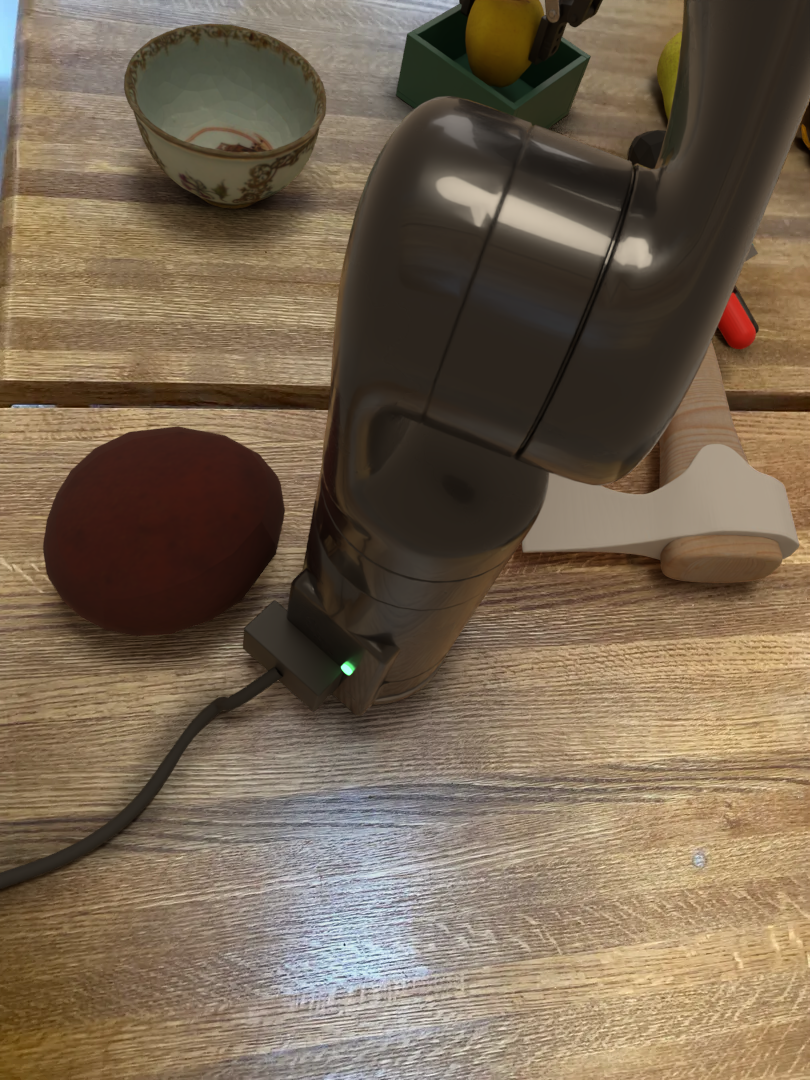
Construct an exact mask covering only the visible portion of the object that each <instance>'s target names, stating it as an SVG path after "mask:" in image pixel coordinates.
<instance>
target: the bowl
mask: <svg viewBox="0 0 810 1080" xmlns="http://www.w3.org/2000/svg"><path fill="white" fill-rule="evenodd" d="M123 90H124V95H125V98H126V101H127V103H128V105H129V107H130V108H131V110H132V111H133V116H134V119H135V122H136V125H137V128H138V130H139V134H140V136H141V138H142V141H143V144H144V145H145V147H146V149H147V151H148V152H149V154H150V155H151V157H152V159H153V160H154V162H155V163H156V164H157V165H158V168H160V169H161V170H162V171H163V173H164V174H166V176H167V177H168V178H170V180H172V181H173V182H175V183H176V185H178V186H180V187H181V188H182V189H184V190H186V191H188V192H189V193H191V194H193V195H195V196H197V197H199V198H200V199H201V200H203V201H205V202H206V203H207V204H209V205H212V206H216V207H218V208H221V209H232V210H235V209H242V208H247V207H250V206H253V205H255V204H256V203H258V202H260V201H261V200H265V199H268V198H269V197H271V196H273V195H275V194H277V193H279V192H281V191H282V190H284V189H285V188H286V187H288V186H289V185H290V184H291V183H292V182H293V181H294V180H295V179H296V178H297V177H298V176H299V175H300V174H301V173H302V171H303V170H304V168H305V166H307V164H308V162H309V160H310V159H311V155H312V153H313V151H314V149H315V146H316V142H317V139H318V135H319V132H320V126H321V125H322V123H323V121H324V119H325V117H326V115H327V114H326V113H327V94H326V89H325V85H324V83H323V81H322V79H321V76H320V74H318V72H317V70H316V69H315V68H314V67H313V65H312V64H311V63H310V62H309V61H308V60H307V59H306V58H305V57H304V56H303V55H302V54H301V53H299V52H298V51H297V50H296V49H294V48H292V47H291V46H290V45H288V44H287V43H285V42H284V41H281V40H279V39H277V38H275V37H274V36H271V35H269V34H267V33H264V32H262V31H258V30H254V29H251V28H248V27H244V26H239V25H234V24H228V23H227V24H225V23H224V24H223V23H200V24H191V25H186V26H185V25H184V26H180V27H176V28H174V29H171V30H168V31H166V32H164V33H161V34H158V35H157V36H155V37H153V38H151V39H150V40H149V41H147V42H146V43H145V44H143V46H141V47H140V48H139V49H138V50H136V52H135V53H134V54H133V55H132V56H131V59H130V60H129V61H128V63H127V67H126V70H125V73H124V80H123Z"/></svg>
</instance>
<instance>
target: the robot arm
mask: <svg viewBox="0 0 810 1080" xmlns="http://www.w3.org/2000/svg"><path fill="white" fill-rule="evenodd" d="M474 1H475V0H458V4H461V5H462V6H461V10H460V12H461V14H463V15H464V16H466V17H467V18H468V17H469V14H470V10H471V8H472V6H473V4H474ZM603 1H604V0H544V7H545V9H544V10H545V14H544V16H543V17H542V18H541V21H540V24H539V27H538V30H537V33H536V36H535V39H534V42H533V45H532V49H531V52H530V55H529V58H528V60H529V61H530V62H532V63H533V64H535V65H538V64H539V63H540V62H542V61H545V60H547V59H548V58H550V57H551V56H553V55H554V54H555V53H556V51H557V50H558V47H559V45H560V42H561V38H562V37H564V34H565V33H564V32H565V30H566V28H567V24H568V25H569V26H570V27H571V28H578V27H579V26H581V25H582V24H583V23H584V22H586V21H588V19H591V18H593V17H594V16H596V15H597V14H598V11H599V9H600V8H601V5H602V3H603ZM682 13H683V14H682V24H681V25H682V26H681V31H682V39H681V47H680V55H679V64H678V72H677V79H676V85H675V91H674V97H673V102H672V107H671V112H670V116H669V121H668V120H667V125H666V129H665V131H666V134H665V138H664V141H663V145H662V148H661V152H660V155H659V158H658V161H657V163H656V166H655V168H653V169H650V168H647V167H645V166H642V165H640V164H638V163H637V164H635V165H633V164H632V162H631V161H629V159H626V158H625V157H622V156H619V155H617V154H614V153H612V152H609V151H607V150H603V149H601V148H598V147H595V146H593V145H590V144H588V143H586V142H582V141H581V140H578V139H574V138H573V137H570V136H567V135H564V134H561V133H559V132H556V131H554V130H551V129H550V128H548V129H546V128H544V127H541V126H538V125H534V126H532V124H531V123H530V122H527V121H525V120H522V119H520V118H517V117H515V116H512V115H509V114H507V113H504V112H502V111H499V110H497V109H494V108H492V107H489V106H486V105H483V104H480V103H477V102H474V101H471V100H469V99H464V98H459V97H455V96H441V97H436V98H434V99H431V100H429V101H426V102H424V103H422V104H421V105H420V106H418V107H417V108H416V109H414V108H413V110H411V111H410V112H409V113H407V115H406V116H405V117H404V118H403V119H402V120H401V122H400V123H399V124H398V125H397V127H396V128H395V129H394V131H393V132H392V133H391V135H390V136H389V137H388V138H387V140H386V141H385V143H384V145H383V147H382V148H381V150H380V152H379V154H378V155H377V157H376V159H375V161H374V162H373V163H374V164H373V165H372V167H371V170H370V171H369V174H368V177H367V179H366V181H365V185H364V187H363V189H362V191H361V194H360V197H359V199H358V203H357V207H356V209H355V212H354V216H353V220H352V225H351V228H350V232H349V237H348V241H347V245H346V249H345V253H344V257H343V262H342V266H341V272H340V277H339V285H338V291H337V292H338V293H337V299H336V300H337V302H336V309H335V318H334V326H333V338H332V339H333V340H332V354H331V367H330V368H331V370H330V371H331V372H330V383H329V384H330V385H329V397H328V405H327V406H328V407H327V417H326V422H325V423H326V424H325V429H324V437H323V443H322V451H321V452H322V454H321V466H320V469H319V475H318V483H317V487H316V493H315V498H314V503H313V509H312V513H311V519H310V526H309V532H308V536H307V537H308V538H307V543H306V548H305V554H304V560H303V565H302V571H300V573H298V574H297V576H295V577H294V578H293V580H292V581H291V584H290V590H289V596H288V603H287V609H286V608H285V607H284V606H283V605H281V604H280V602H278V601H277V600H275V599H273V600H272V601H271V602H270V603H269V604H268V605H267V606H265V607H264V609H263V610H261V611H260V612H259V613H258V614H257V615H256V616H255V617H254V618H253V619H252V620H251V621H250V622H249V623H248V624H246V626H245V627H243V638H242V649H243V650H244V651H245V652H246V653H247V654H248V655H250V656H251V657H252V658H253V659H254V660H255V661H256V662H257V663H259V665H260V666H262V667H263V668H264V669H265V670H266V671H265V672H264V673H263V674H261V675H260V676H258V677H256V679H254V680H253V681H251V682H250V683H248V684H247V685H245V686H244V687H243V688H240V690H238V691H236V692H235V693H233V694H231V695H229V696H219V697H217V698H215V699H214V700H212V701H211V702H210V703H209V704H208V705H206V706H205V707H204V708H203V709H202V710H201V711H200V712H199V713H198V714H197V715H196V716H195V717H194V718H193V719H192V720H191V721H190V722H189V724H188V725H187V727H186V728H185V729H184V731H183V732H182V733H181V734H180V736H179V738H178V739H177V740H176V741H175V743H174V744H173V746H172V747H171V749H170V750H169V752H168V753H167V754H166V756H165V757H164V758H163V760H162V761H161V762H160V765H159V766H158V767H157V769H156V770H155V771H154V773H153V774H152V776H151V777H150V778H149V780H148V781H147V782H146V784H145V785H144V786H143V787H142V789H141V790H140V791H139V793H137V795H136V796H135V797H134V798H132V800H131V801H130V802H129V803H128V804H127V805H126V806H125V807H124V808H123V809H122V810H121V811H119V812H118V814H116V815H115V816H114V817H113V818H112V819H110V820H109V821H108V822H107V823H106V824H104V825H103V826H101V827H99V828H97V830H95V831H94V832H92V833H90V834H88V835H87V836H86V837H84V838H82V839H80V840H79V841H77V842H74V843H73V844H71V845H69V846H67V847H65V848H63V849H61V850H59V851H56V852H54V853H51V854H49V855H47V856H44V857H42V858H39V859H36V860H34V861H31V862H27V863H25V864H22V865H19V866H16V867H13V868H10V869H7V870H4V871H1V872H0V890H1V889H4V888H7V887H10V886H13V885H16V884H19V883H23V882H25V881H28V880H30V879H33V878H36V877H39V876H42V875H45V874H47V873H49V872H52V871H55V870H57V869H59V868H61V867H64V866H66V865H68V864H71V863H72V862H74V861H76V860H79V859H80V858H81V857H83V856H85V855H87V854H89V853H91V852H92V851H94V850H96V849H97V848H99V847H100V846H102V845H103V844H105V843H106V842H107V841H109V840H110V839H112V838H113V837H115V836H116V835H117V834H119V833H120V832H121V831H122V830H123V829H124V828H126V827H128V825H129V824H131V823H132V822H133V821H134V819H136V818H137V817H138V816H139V815H140V814H141V813H142V812H143V811H144V810H145V808H146V807H147V806H148V805H149V804H150V803H151V802H152V800H153V799H154V798H155V796H156V795H157V794H158V792H159V791H160V790H161V788H162V787H163V786H164V784H165V783H166V781H167V780H168V779H169V777H170V776H171V774H172V773H173V771H174V769H175V767H176V765H177V764H178V762H179V760H180V759H181V757H182V756H183V754H184V753H185V751H186V750H187V748H188V746H189V745H190V744H191V743H192V741H193V740H194V739H195V737H196V736H197V735H198V734H199V733H201V731H202V730H203V729H205V727H206V726H207V725H208V724H209V723H210V722H211V721H212V720H213V719H215V718H216V717H217V716H218V715H219V714H220V713H221V712H228V711H229V712H230V711H233V710H235V709H238V708H241V706H243V705H245V704H246V703H248V702H249V701H251V700H253V699H254V698H256V697H257V696H258V695H260V694H261V693H263V692H264V691H266V690H267V689H268V688H270V687H271V686H273V685H274V684H275V683H277V682H280V684H282V685H283V686H284V688H286V689H287V690H288V691H289V692H290V693H292V695H294V697H296V698H297V699H298V700H299V701H300V702H302V704H304V706H306V707H307V708H308V709H309V710H310V711H311V712H312V713H314V712H316V711H317V710H318V709H319V708H320V706H322V704H323V703H325V701H326V700H328V698H329V697H330V696H331V695H333V696H334V697H335V698H336V699H337V700H338V701H339V702H340V703H342V705H344V706H345V707H346V708H347V709H348V710H349V711H351V713H352V714H354V715H355V716H357V717H362V716H363V715H364V714H365V713H366V712H367V711H368V709H370V708H371V707H372V706H374V705H386V704H391V703H397V702H399V701H402V700H405V699H407V698H409V697H411V696H413V695H414V694H416V693H418V692H419V691H421V690H422V689H423V688H424V687H425V686H427V684H429V682H430V681H432V679H433V678H434V677H435V676H436V675H437V673H438V672H439V670H440V669H441V666H442V665H443V663H444V662H445V660H446V658H447V655H448V654H449V652H450V650H451V648H452V647H453V646H454V644H455V643H456V641H457V639H458V638H459V636H460V635H461V634H462V632H463V631H464V629H465V627H466V626H467V624H469V621H470V620H471V618H472V617H473V615H474V614H475V613H476V611H477V609H478V607H479V606H480V604H481V603H482V602H483V600H484V599H485V597H486V595H487V594H488V593H489V591H490V590H491V588H493V587H492V586H494V584H495V583H496V581H497V580H498V578H499V576H500V575H501V573H502V572H503V570H504V569H505V568H506V567H507V565H508V563H509V562H510V560H511V559H512V557H513V556H514V554H515V553H516V551H517V549H518V548H519V547H520V545H522V541H523V540H524V538H525V537H526V535H527V534H528V532H529V531H530V529H531V528H532V526H533V525H534V523H535V522H536V520H537V518H538V516H539V514H540V512H541V509H542V507H543V505H544V502H545V499H546V495H547V490H548V482H549V473H552V474H554V475H557V476H560V477H563V478H566V479H569V480H572V481H575V482H580V483H584V484H588V485H597V486H606V485H610V484H613V483H615V482H617V481H619V480H620V479H623V478H624V477H627V476H628V475H629V474H631V473H632V472H633V471H634V470H635V469H636V468H637V467H638V466H639V465H640V464H641V462H642V461H643V460H644V459H646V458H647V457H648V456H649V454H650V453H651V452H652V450H653V449H654V447H655V446H656V444H657V443H659V439H660V437H661V436H662V434H663V433H664V432H665V430H666V428H667V427H668V425H669V424H670V422H671V420H672V419H673V417H674V415H675V413H676V412H677V410H678V408H679V406H680V404H681V403H682V401H683V399H684V397H685V396H686V394H687V392H688V390H689V388H690V386H691V384H692V382H693V380H694V378H695V376H696V374H697V372H698V370H699V368H700V365H701V363H702V361H703V359H704V357H705V355H706V353H707V350H708V348H709V345H710V343H711V341H712V342H713V338H714V336H715V334H716V332H717V329H718V324H719V322H720V320H721V317H722V315H723V313H724V310H725V308H726V306H727V303H728V301H729V299H730V296H731V294H732V292H733V289H734V287H735V285H737V282H738V280H739V277H740V274H741V272H742V270H743V268H744V265H745V260H746V257H747V255H748V252H749V250H750V248H751V245H752V243H753V242H754V241H755V238H756V235H757V233H758V231H759V228H760V225H761V223H762V220H763V218H764V215H765V213H766V210H767V207H768V205H769V203H770V200H771V198H772V195H773V193H774V191H775V188H776V185H777V183H778V180H779V178H780V175H781V174H782V170H783V168H784V165H785V163H786V160H787V158H788V155H789V153H790V151H791V149H792V146H793V143H794V142H795V141H794V140H795V138H796V136H797V133H798V131H799V129H800V126H801V124H802V121H803V119H804V117H805V116H804V115H805V113H806V111H807V109H808V106H809V104H810V0H683V11H682ZM753 244H754V243H753Z"/></svg>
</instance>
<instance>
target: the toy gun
mask: <svg viewBox="0 0 810 1080" xmlns="http://www.w3.org/2000/svg"><path fill="white" fill-rule="evenodd" d="M758 254H759V252H758V250H757V249H756V247H755V246H754V243H752V245H751V248H750V250H749V252H748V255H747V257H746V260H745V262H747V261H749V260H751V259H752V258H754V257H755V256H757V255H758ZM745 262H744V263H745ZM736 285H737V284H736ZM736 285H735V287H734V289H733V292H732V294H731V296H730V299H729V301H728V303H727V306H726V308H725V310H724V313H723V315H722V317H721V320H720V322H719V324H718V327H717V329H718V330H719V331H720V334H721V335H722V336H723V338H724V340H725V341H726V343H727V345H728V346H729V347H730V348H732V349H734V350H744V349H746V348H748V347H750V346H751V345H752V344H753V343H754V341H755V339H756V336H757V334H758V333H759V330H760V326H759V324H758V323H757V321H756V318H755V317H754V316H753V314H752V312H751V311H750V308H749V306H748V304H747V303H746V301H745V300H744V298H743V295H742V294H741V293H740V291H739V289H738V287H737V286H736Z"/></svg>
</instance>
